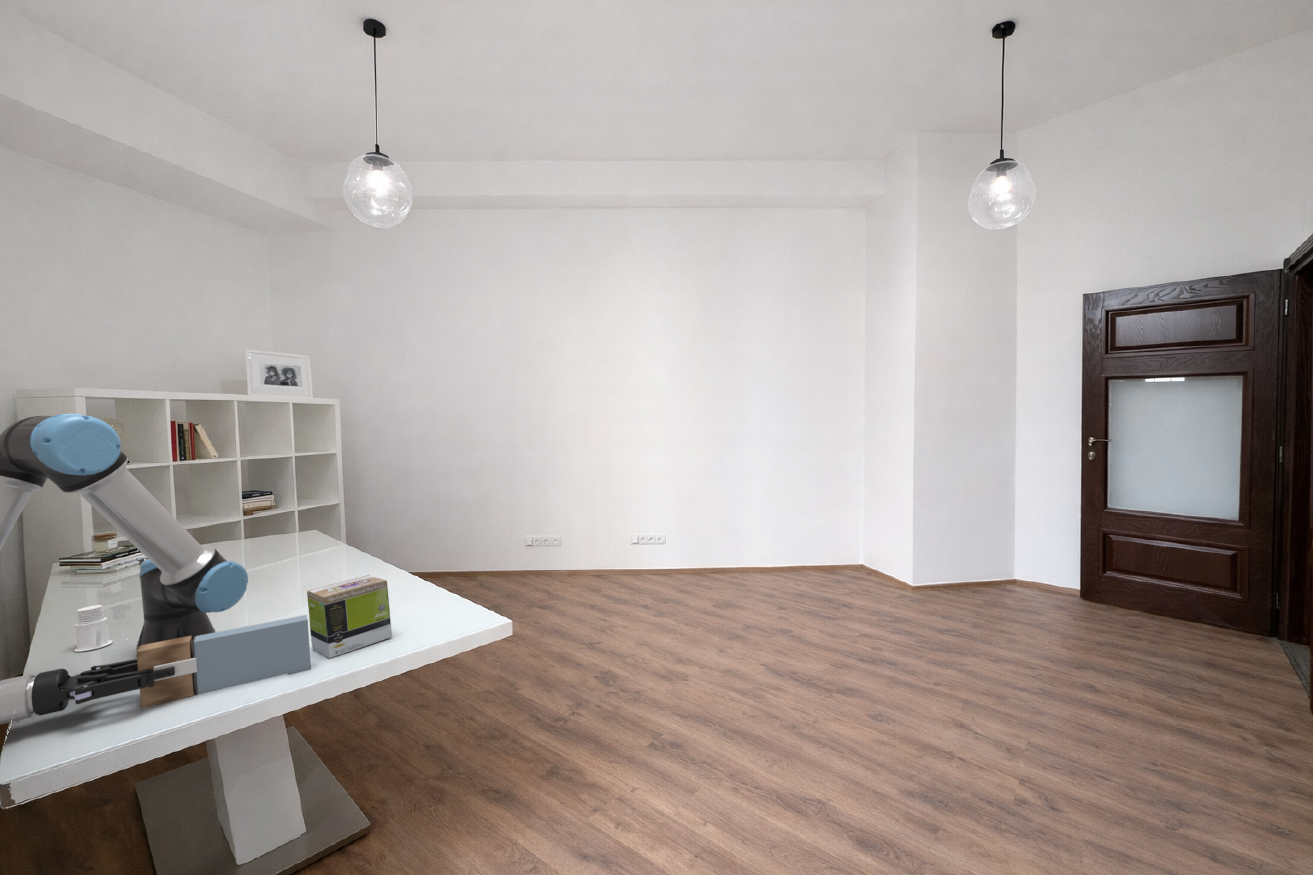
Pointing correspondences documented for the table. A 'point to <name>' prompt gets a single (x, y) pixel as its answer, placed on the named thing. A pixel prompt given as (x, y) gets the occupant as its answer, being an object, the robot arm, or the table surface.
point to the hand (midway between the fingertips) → (197, 660)
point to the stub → (163, 655)
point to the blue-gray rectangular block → (251, 653)
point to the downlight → (91, 629)
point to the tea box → (349, 615)
